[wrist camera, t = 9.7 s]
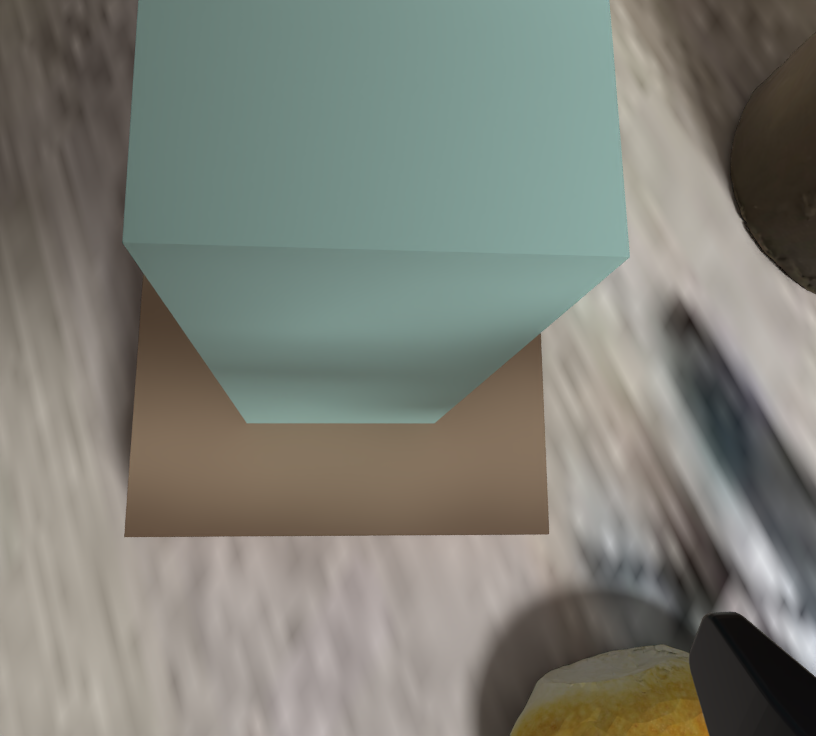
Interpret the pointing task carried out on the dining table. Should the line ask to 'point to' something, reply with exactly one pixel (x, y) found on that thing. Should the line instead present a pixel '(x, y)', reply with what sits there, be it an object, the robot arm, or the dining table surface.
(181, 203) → the pillar
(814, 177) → the pillar candle
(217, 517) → the walnut base
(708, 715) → the robot arm
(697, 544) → the dining table surface
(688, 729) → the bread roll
